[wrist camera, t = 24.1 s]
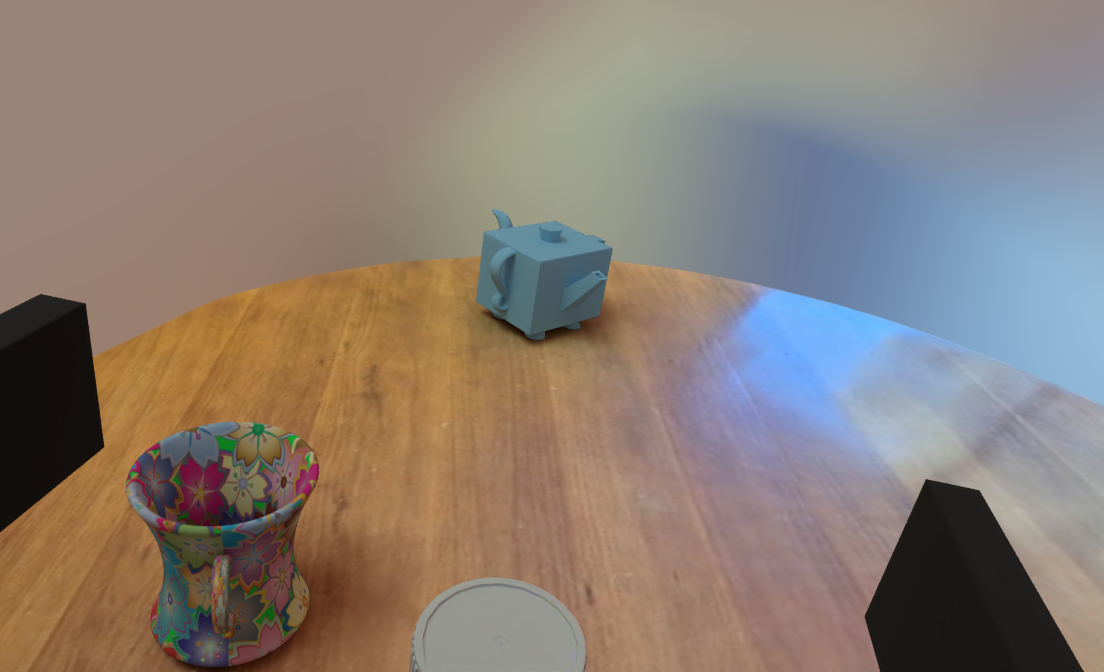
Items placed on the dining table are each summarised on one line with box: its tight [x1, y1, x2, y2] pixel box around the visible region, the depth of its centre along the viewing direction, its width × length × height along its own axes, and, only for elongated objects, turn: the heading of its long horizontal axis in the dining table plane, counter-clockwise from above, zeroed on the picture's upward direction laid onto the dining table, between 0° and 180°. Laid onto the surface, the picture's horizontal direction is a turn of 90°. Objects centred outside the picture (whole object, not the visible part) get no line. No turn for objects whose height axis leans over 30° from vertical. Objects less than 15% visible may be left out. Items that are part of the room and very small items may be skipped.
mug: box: [126, 422, 319, 667], centre depth 42 cm, size 12×9×11 cm
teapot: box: [476, 209, 612, 340], centre depth 86 cm, size 16×18×11 cm
